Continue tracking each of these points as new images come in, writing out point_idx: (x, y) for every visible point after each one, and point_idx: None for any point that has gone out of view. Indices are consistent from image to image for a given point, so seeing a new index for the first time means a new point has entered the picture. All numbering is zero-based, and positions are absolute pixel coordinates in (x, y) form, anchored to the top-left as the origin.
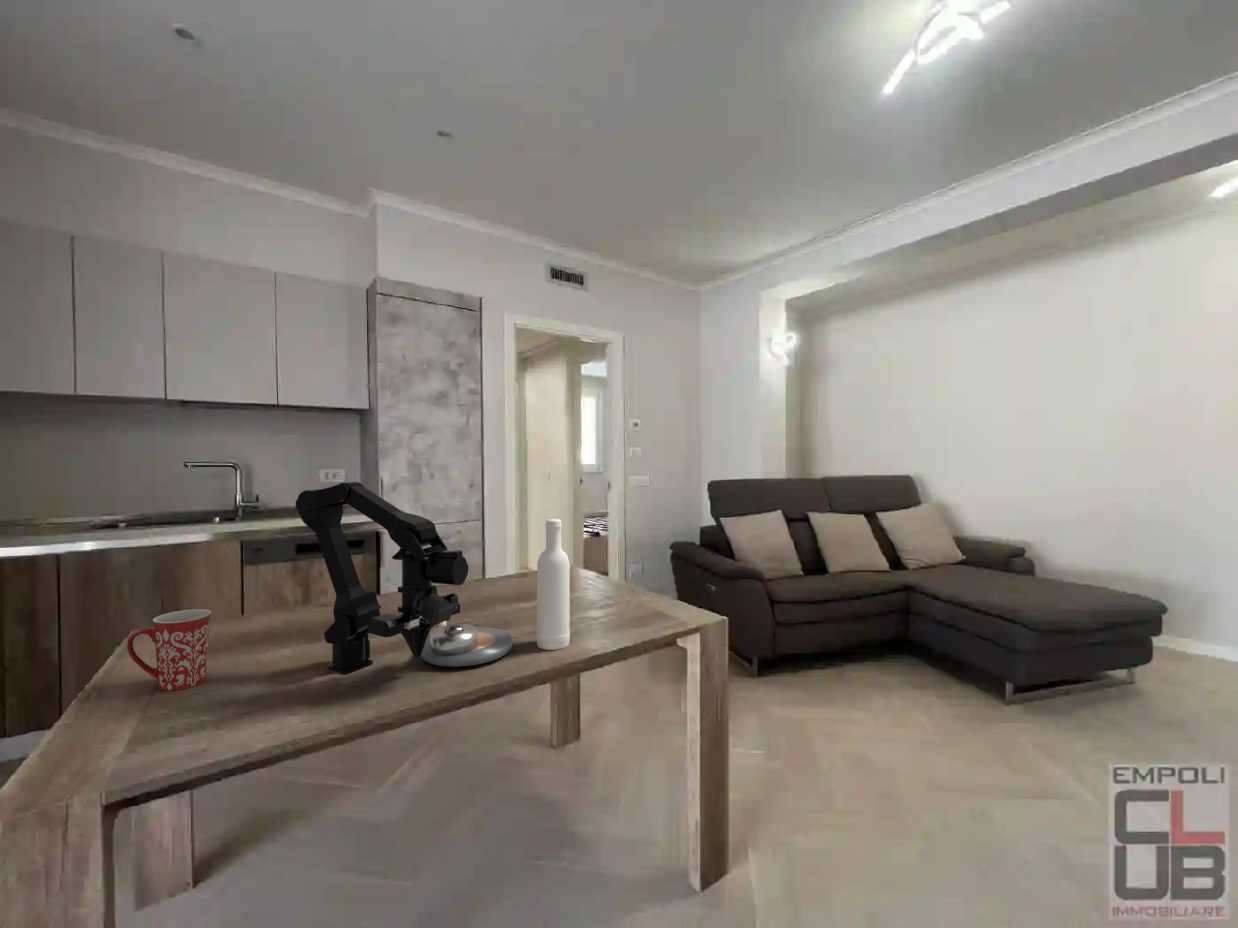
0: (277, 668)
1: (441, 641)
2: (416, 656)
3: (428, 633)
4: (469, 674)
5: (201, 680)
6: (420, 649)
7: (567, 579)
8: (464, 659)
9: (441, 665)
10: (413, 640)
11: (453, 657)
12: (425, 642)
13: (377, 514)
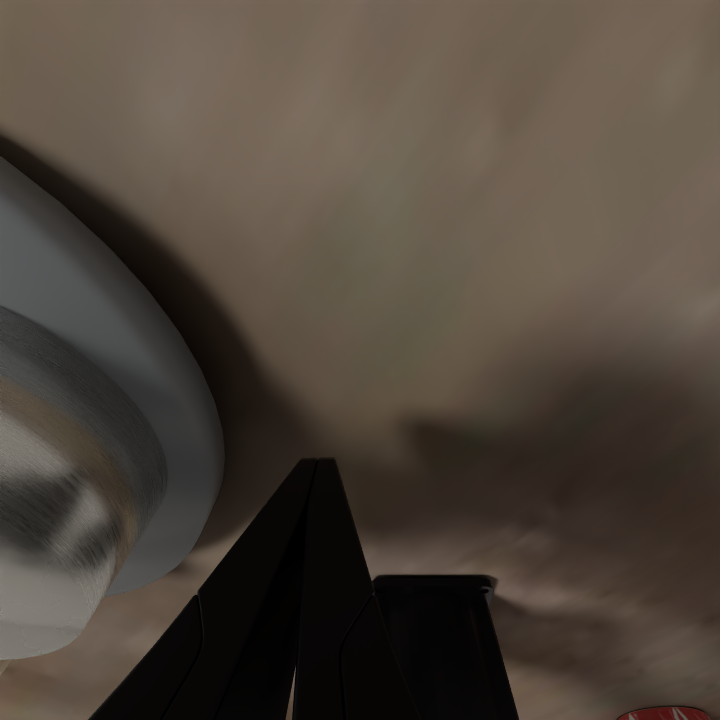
0: (529, 679)
1: (33, 497)
2: (337, 466)
3: (102, 708)
4: (45, 48)
5: (655, 714)
6: (297, 504)
7: None
8: None
9: (182, 339)
10: (395, 668)
11: (56, 298)
12: (139, 576)
13: None
